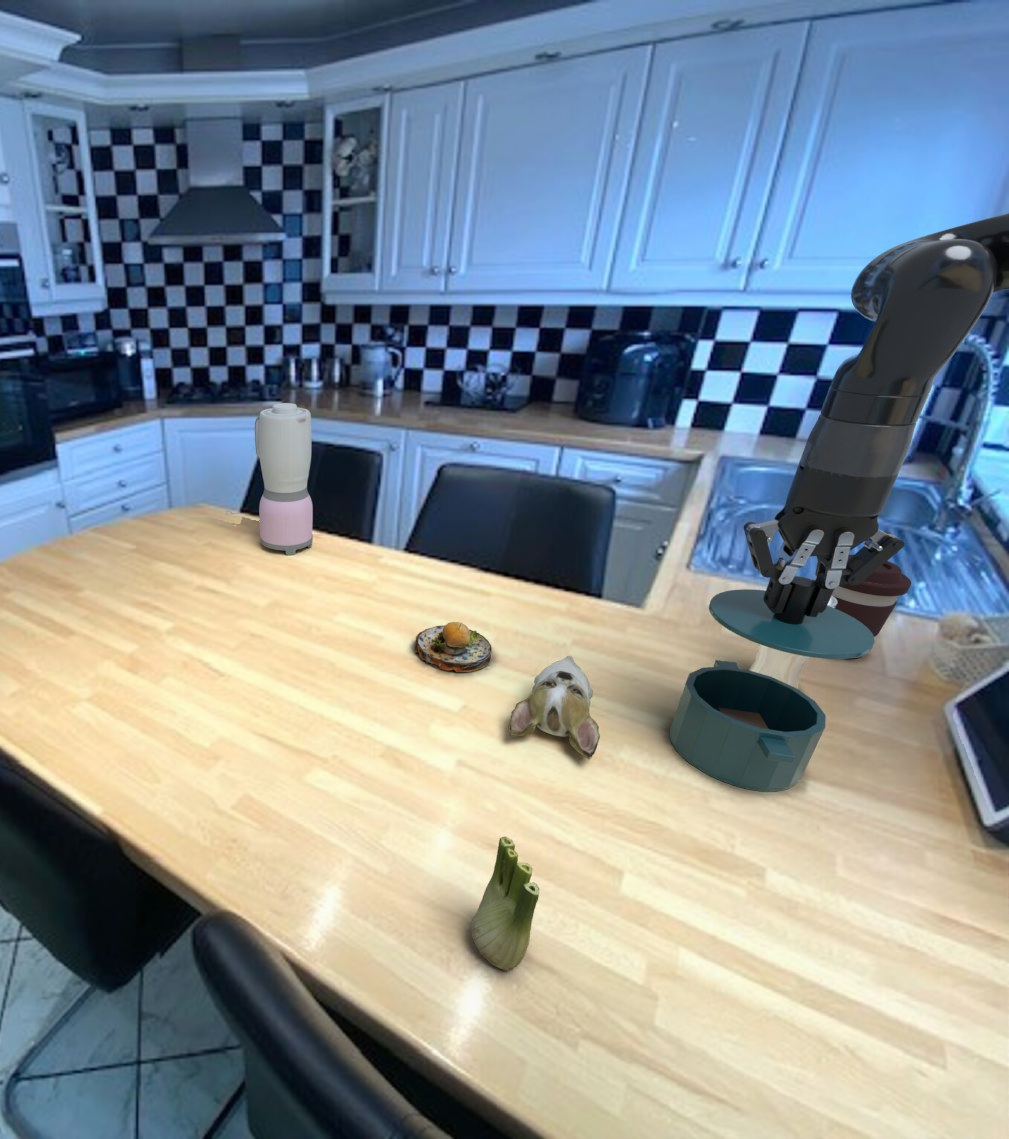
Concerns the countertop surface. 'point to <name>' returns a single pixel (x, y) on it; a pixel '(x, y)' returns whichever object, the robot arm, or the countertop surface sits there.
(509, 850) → the fennel bulb
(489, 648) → the burger
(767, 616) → the lid
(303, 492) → the blender
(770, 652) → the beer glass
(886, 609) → the coffee cup
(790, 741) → the pot
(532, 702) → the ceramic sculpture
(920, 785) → the countertop surface
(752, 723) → the block
